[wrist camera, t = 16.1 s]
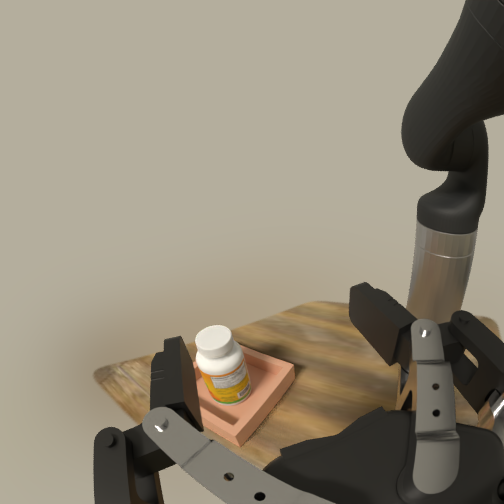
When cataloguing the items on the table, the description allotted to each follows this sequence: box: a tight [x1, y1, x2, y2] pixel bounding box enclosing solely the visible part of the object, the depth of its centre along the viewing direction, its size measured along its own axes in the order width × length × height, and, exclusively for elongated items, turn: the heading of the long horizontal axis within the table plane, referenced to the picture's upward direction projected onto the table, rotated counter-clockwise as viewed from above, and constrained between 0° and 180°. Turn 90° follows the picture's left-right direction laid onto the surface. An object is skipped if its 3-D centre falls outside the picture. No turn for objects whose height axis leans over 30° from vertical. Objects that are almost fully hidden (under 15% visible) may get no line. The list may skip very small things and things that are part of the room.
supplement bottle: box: [195, 325, 251, 406], centre depth 29 cm, size 5×5×10 cm
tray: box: [193, 345, 295, 447], centre depth 31 cm, size 12×12×3 cm
